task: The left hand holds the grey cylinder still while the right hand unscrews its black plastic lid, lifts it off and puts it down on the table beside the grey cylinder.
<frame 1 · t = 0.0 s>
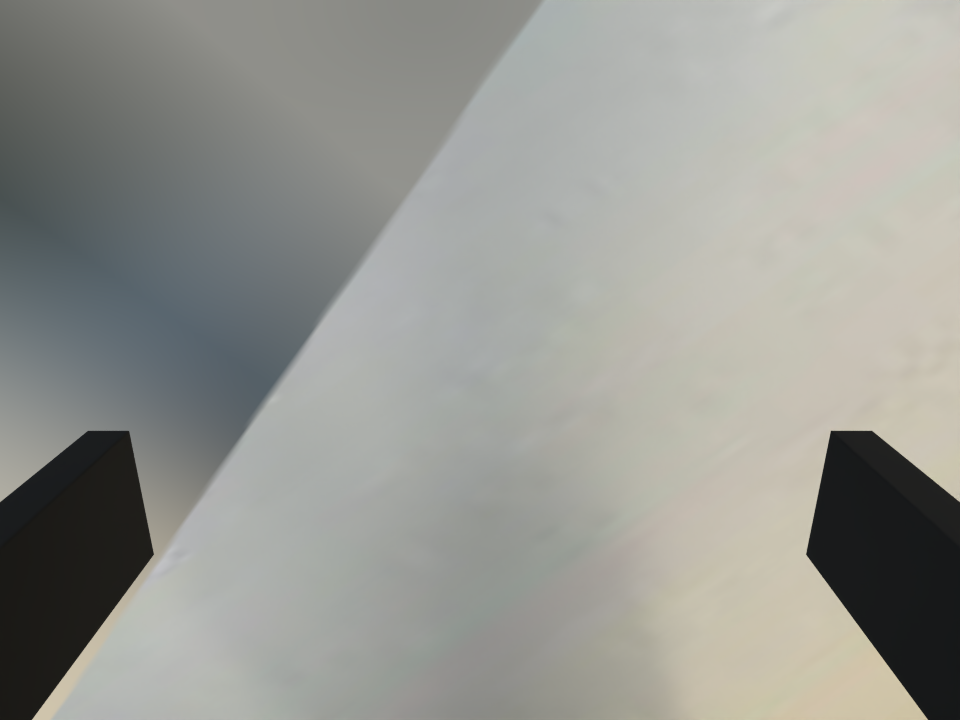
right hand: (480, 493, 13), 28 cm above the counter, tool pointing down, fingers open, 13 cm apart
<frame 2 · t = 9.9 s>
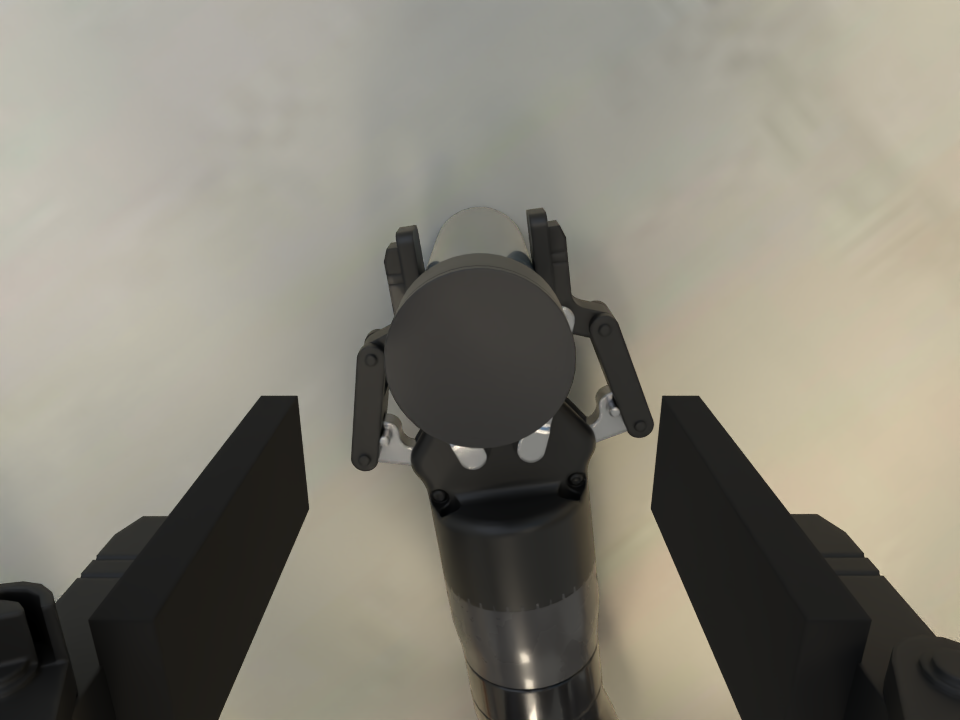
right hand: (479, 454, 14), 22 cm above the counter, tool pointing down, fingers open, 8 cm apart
left hand: (470, 222, 27), fingers closed on grey cylinder, 4 cm apart
lid: (479, 359, 20), point 16 cm above the counter, screwed on, not yet turned
grey cylinder: (479, 252, 35), on the counter, touching left hand
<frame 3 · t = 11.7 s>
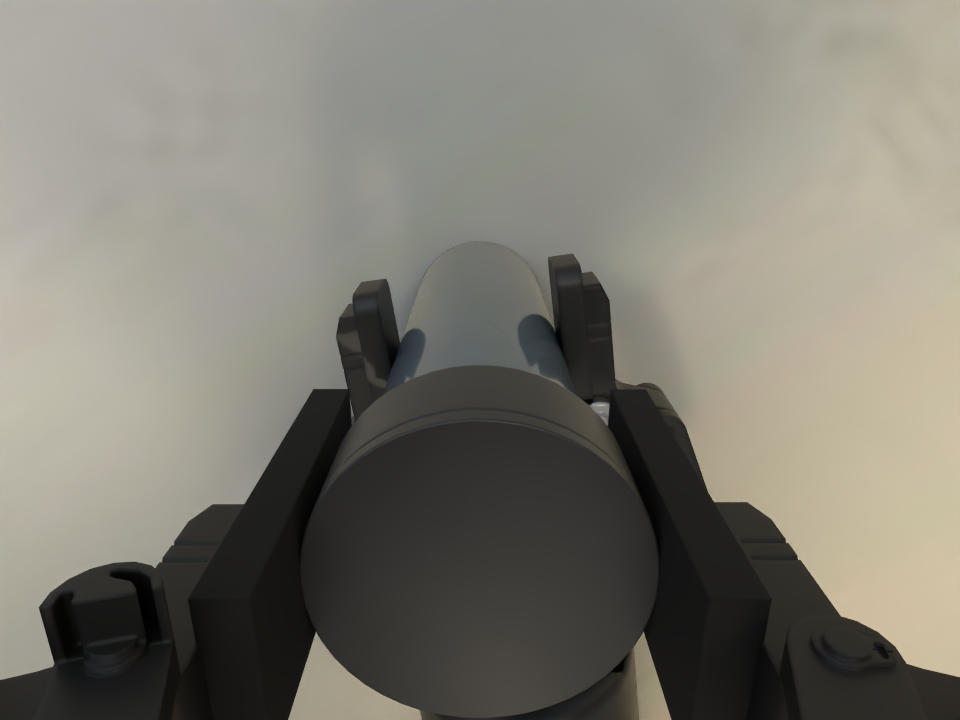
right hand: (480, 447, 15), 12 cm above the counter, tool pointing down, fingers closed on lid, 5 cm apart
lid: (479, 568, 11), point 16 cm above the counter, screwed on, not yet turned, touching right hand
grey cylinder: (479, 302, 26), on the counter, touching left hand
when the right hand's fingers open (12 cm above the counter, at t = 13.0 s): lid stays where it is, point 16 cm above the counter.
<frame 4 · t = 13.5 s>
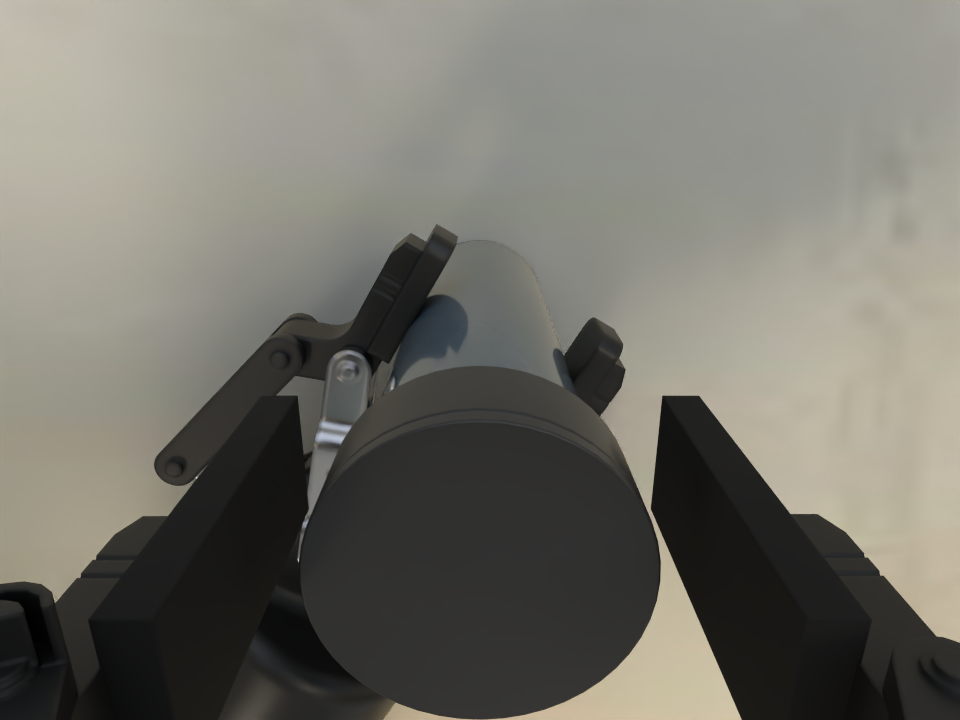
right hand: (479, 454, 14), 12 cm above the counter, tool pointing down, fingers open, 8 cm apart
lid: (479, 569, 11), point 16 cm above the counter, turned 89° so far, risen 0.3 cm, still on its thread
grey cylinder: (479, 300, 26), on the counter, touching left hand
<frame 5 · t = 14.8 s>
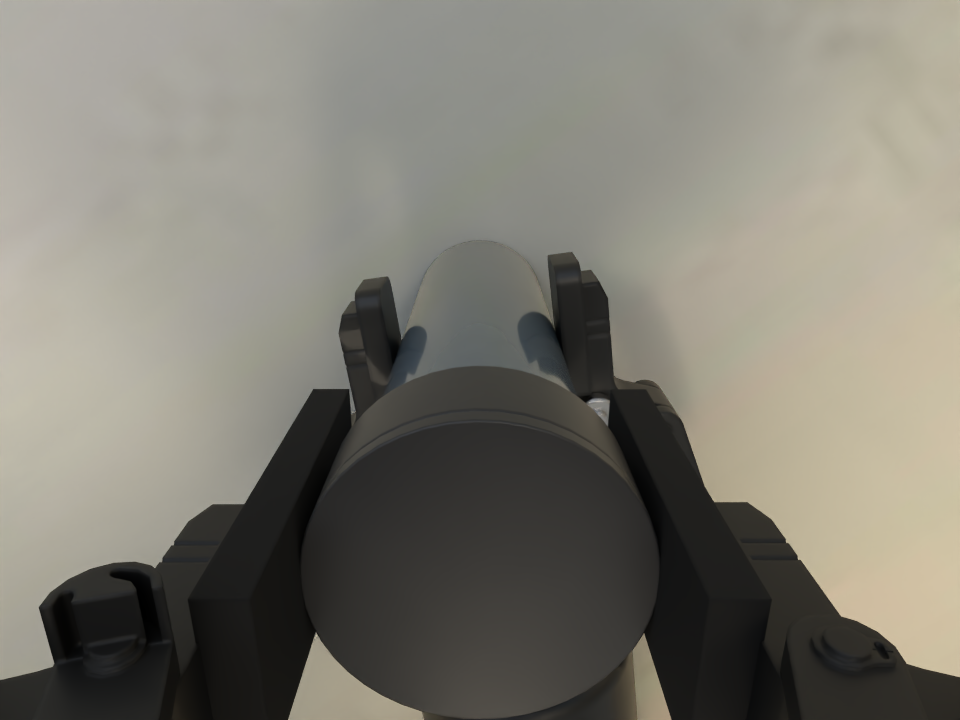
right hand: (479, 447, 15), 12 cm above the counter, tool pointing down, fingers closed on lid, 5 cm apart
lid: (480, 569, 11), point 16 cm above the counter, turned 89° so far, risen 0.3 cm, still on its thread, touching right hand
grey cylinder: (480, 300, 26), on the counter, touching left hand
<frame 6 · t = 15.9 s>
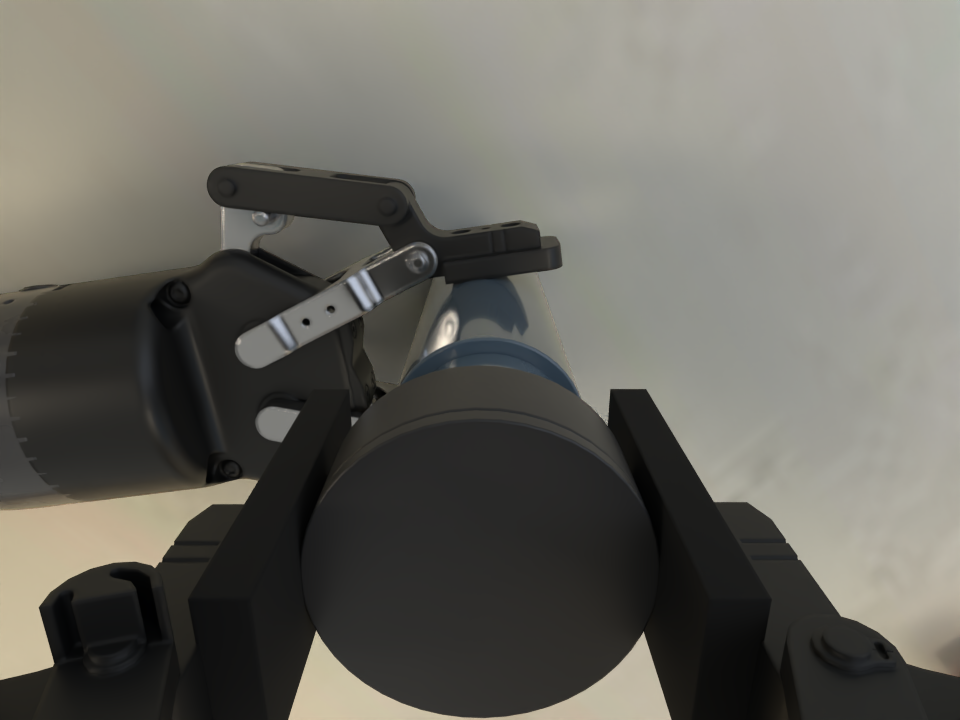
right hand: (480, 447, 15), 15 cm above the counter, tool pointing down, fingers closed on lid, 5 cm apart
left hand: (564, 329, 23), fingers closed on grey cylinder, 4 cm apart
lid: (480, 568, 11), point 19 cm above the counter, off its thread, touching right hand
grey cylinder: (486, 292, 29), on the counter, touching left hand
when the right hand's fingers open (0 cm above the counter, at t = 21.4 s): lid drops 1 cm, point 2 cm above the counter.
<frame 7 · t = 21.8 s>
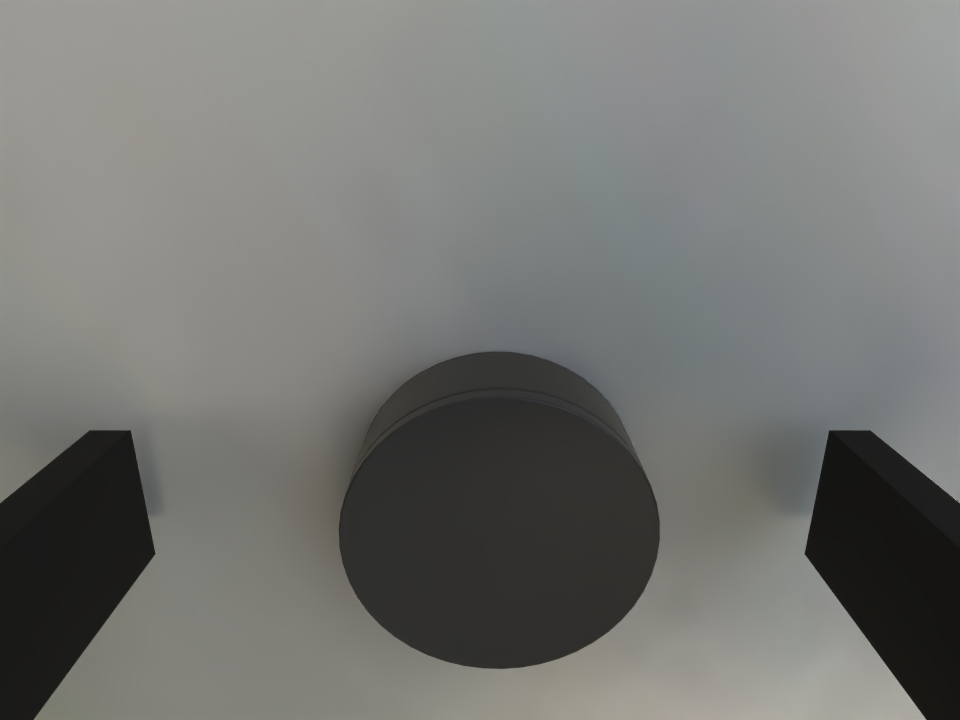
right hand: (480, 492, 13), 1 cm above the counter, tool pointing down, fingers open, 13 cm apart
lid: (498, 532, 12), point 2 cm above the counter, off its thread
when the left hand's fingers open (7 cm above the counter, at t = 22.4 s): grey cylinder stays where it is, on the counter.
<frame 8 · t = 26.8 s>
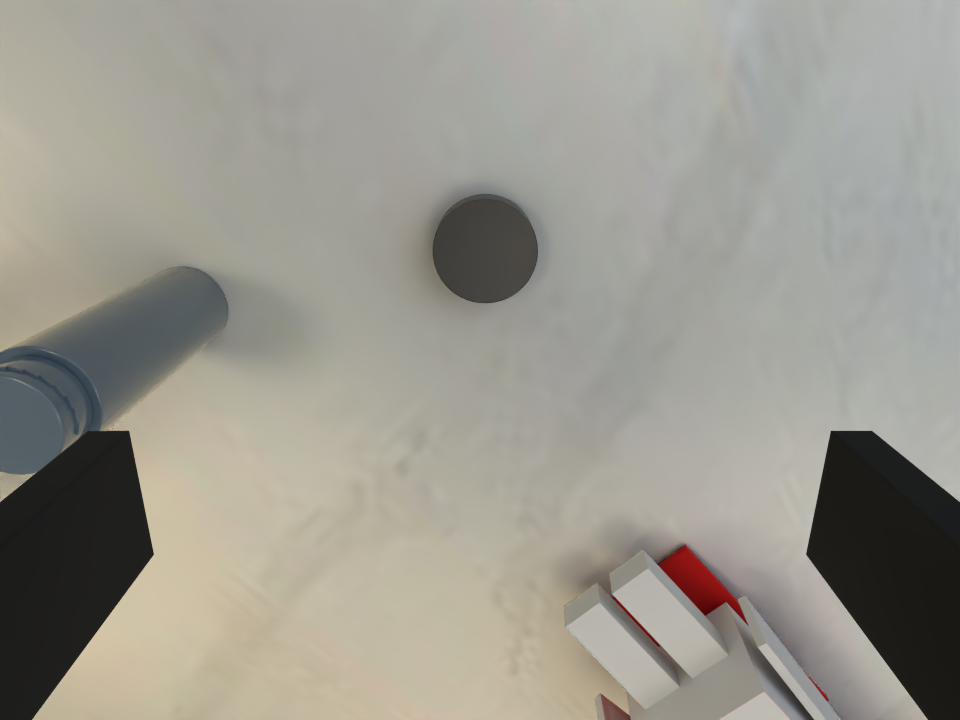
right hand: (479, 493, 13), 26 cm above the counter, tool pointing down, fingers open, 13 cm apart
toy: (724, 676, 49), on the counter
lid: (485, 251, 36), point 2 cm above the counter, off its thread
grey cylinder: (187, 306, 39), on the counter
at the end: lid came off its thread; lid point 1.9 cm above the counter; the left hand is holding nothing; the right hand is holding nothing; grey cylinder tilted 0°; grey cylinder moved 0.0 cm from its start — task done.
